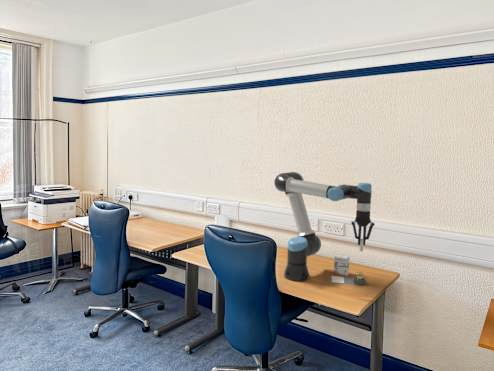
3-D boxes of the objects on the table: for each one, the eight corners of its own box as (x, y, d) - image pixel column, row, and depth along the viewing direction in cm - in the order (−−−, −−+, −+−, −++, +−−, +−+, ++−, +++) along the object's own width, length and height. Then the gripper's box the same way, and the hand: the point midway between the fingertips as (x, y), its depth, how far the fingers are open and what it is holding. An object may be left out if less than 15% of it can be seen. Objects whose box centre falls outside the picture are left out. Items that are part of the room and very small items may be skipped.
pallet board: (331, 284, 220) (331, 282, 220) (330, 277, 230) (330, 275, 230) (365, 287, 216) (365, 285, 216) (363, 280, 227) (363, 278, 227)
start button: (355, 283, 218) (356, 273, 217) (355, 280, 222) (355, 271, 221) (363, 284, 217) (364, 274, 216) (362, 281, 221) (363, 272, 220)
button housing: (354, 284, 217) (354, 279, 217) (353, 280, 223) (353, 275, 223) (365, 285, 216) (365, 280, 216) (364, 281, 222) (364, 276, 221)
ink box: (333, 274, 235) (334, 256, 234) (335, 272, 240) (336, 254, 238) (347, 277, 231) (348, 258, 230) (349, 274, 236) (350, 256, 234)
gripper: (351, 210, 212) (349, 251, 215) (376, 212, 209) (374, 253, 212) (350, 208, 219) (348, 248, 222) (374, 209, 217) (372, 249, 220)
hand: (361, 250), depth 217 cm, fingers closed
